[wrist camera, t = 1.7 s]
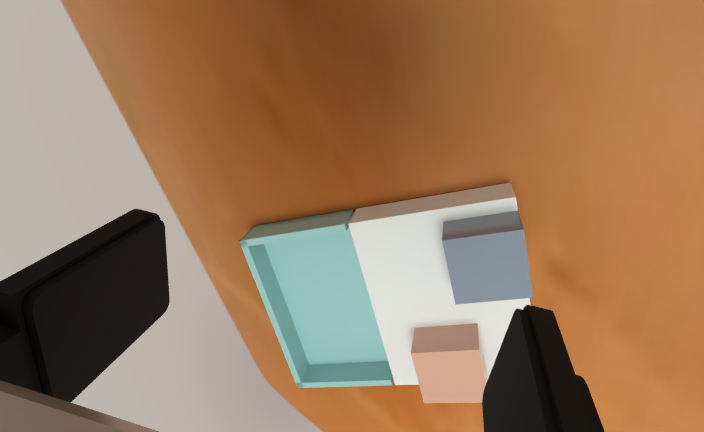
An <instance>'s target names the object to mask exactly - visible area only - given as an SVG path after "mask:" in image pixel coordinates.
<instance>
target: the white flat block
mask: <svg viewBox="0 0 704 432" xmlns="http://www.w3.org/2000/svg"><path fill="white" fill-rule="evenodd" d="M512 211H518V210H517V202H516V196H515V193H514V191H513V188H512V185H511V183H505V184H499V185H493V186H487V187H481V188H475V189H469V190H463V191H457V192H452V193H446V194H440V195H434V196H428V197H422V198H416V199H410V200H404V201H399V202H393V203H387V204H381V205H375V206H369V207H363V208H357V209H356V211H355V212H354V214H353V216H352V218H351V219H350V221H349V223H348V225H349V228H350V232H351V235H352V239H353V242H354V245H355V249H356V252H357V256H358V259H359V263H360V266H361V269H362V273H363V276H364V280H365V283H366V287H367V290H368V293H369V297H370V300H371V304H372V307H373V310H374V314H375V317H376V321H377V324H378V328H379V331H380V334H381V338H382V341H383V345H384V348H385V352H386V355H387V358H388V362H389V365H390V369H391V372H392V375H393V379H394V382H395V385H418V384H419V382H418V378H417V375H416V371H415V367H414V363H413V360H412V356H411V348H412V342H413V335H414V328H421V327H435V326H449V325H463V324H477V323H478V328H479V334H480V339H481V344H482V349H483V355H484V360H485V365H486V370H487V378H489V375H490V373H491V370H492V368H493V365H494V362H495V360H496V357H497V355H498V352H499V350H500V347H501V344H502V342H503V339H504V337H505V334H506V331H507V329H508V326H509V324H510V321H511V319H512V316H513V313H514V311H515V310H516V309H517V308H518V309H522V310H523V308H524V307H525V306H526V305H530V298H525V299H513V300H502V301H490V302H479V303H467V304H455V300H454V295H453V291H452V286H451V281H450V276H449V272H448V267H447V262H446V257H445V253H444V248H443V243H442V233H443V222H444V221H451V220H458V219H465V218H471V217H478V216H485V215H491V214H498V213H505V212H512Z"/></svg>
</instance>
